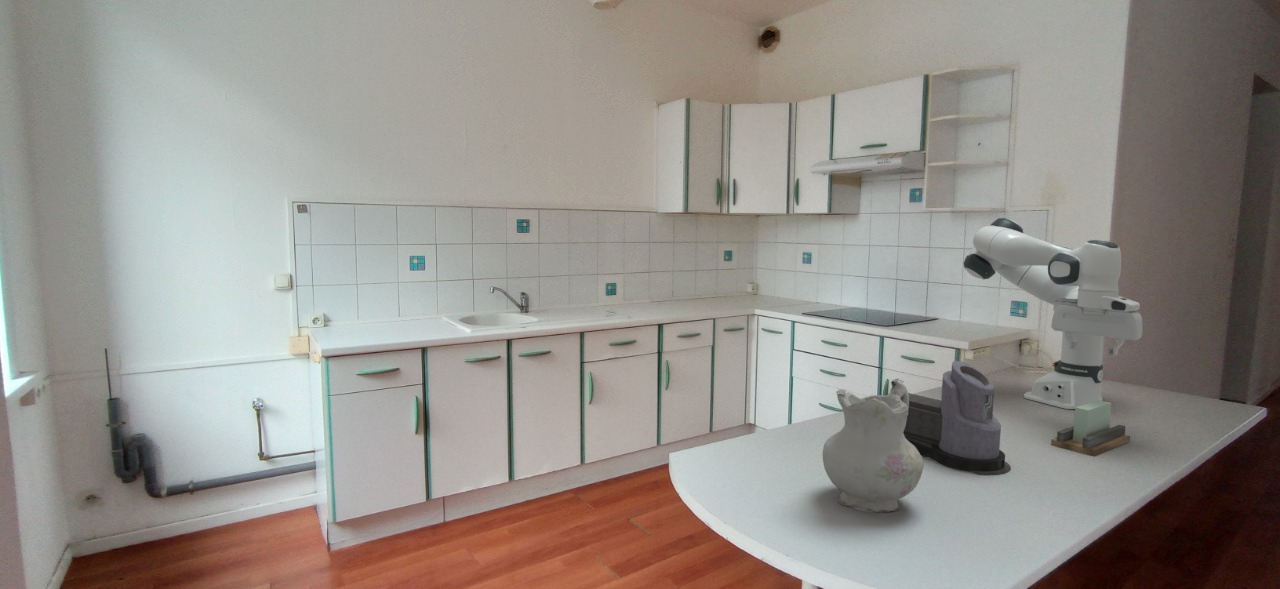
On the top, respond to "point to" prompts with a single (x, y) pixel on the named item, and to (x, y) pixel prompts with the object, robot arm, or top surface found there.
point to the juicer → (958, 423)
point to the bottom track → (1092, 440)
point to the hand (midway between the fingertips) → (1092, 351)
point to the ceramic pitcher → (873, 451)
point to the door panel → (1091, 419)
